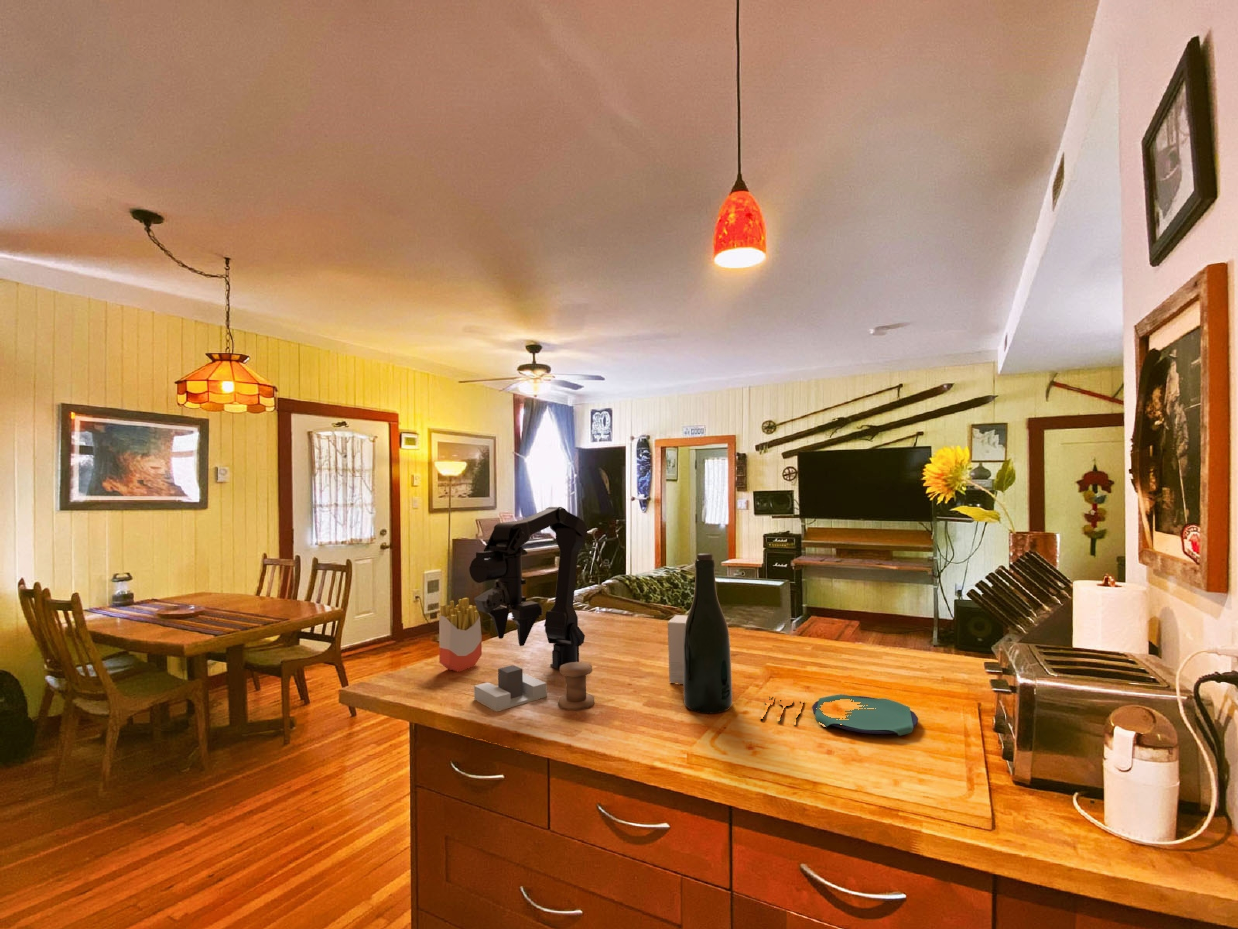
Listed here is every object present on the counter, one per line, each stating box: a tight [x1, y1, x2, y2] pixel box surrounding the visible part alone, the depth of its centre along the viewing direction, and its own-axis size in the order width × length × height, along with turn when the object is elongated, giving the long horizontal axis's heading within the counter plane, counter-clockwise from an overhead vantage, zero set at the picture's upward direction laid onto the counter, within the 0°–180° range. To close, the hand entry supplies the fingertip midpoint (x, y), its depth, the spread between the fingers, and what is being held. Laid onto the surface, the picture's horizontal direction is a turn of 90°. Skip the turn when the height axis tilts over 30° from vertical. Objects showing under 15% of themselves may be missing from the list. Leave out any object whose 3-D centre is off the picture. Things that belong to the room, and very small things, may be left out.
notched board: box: [473, 672, 548, 713], centre depth 133 cm, size 13×10×3 cm
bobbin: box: [557, 661, 595, 711], centre depth 129 cm, size 8×8×8 cm
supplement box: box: [666, 614, 688, 685], centre depth 144 cm, size 9×9×15 cm
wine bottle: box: [683, 552, 733, 714], centre depth 127 cm, size 10×10×33 cm
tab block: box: [497, 664, 524, 699], centre depth 133 cm, size 4×4×6 cm
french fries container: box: [438, 597, 483, 673], centre depth 156 cm, size 5×11×18 cm, turn 145°
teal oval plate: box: [780, 694, 919, 737], centre depth 119 cm, size 20×30×2 cm, turn 67°
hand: (511, 642), depth 137 cm, fingers open, 9 cm apart
